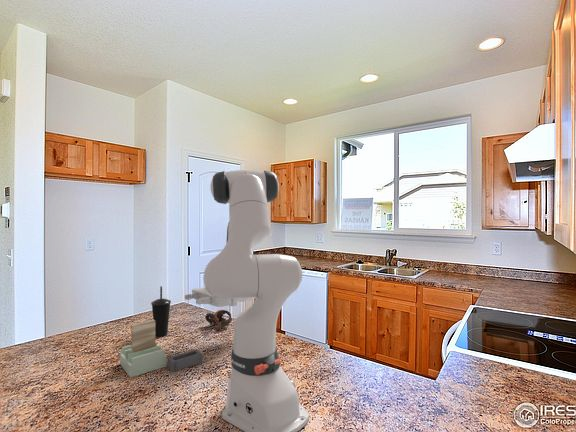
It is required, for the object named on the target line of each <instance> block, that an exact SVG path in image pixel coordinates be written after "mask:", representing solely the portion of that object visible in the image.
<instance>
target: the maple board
mask: <svg viewBox="0 0 576 432" xmlns="http://www.w3.org/2000/svg"><path fill="white" fill-rule="evenodd" d="M130 324H131V325H130V327H131V329H130V332H131V333H130V334H131V337H130V340H131V341H130V342H131V343H130V345H131V353H134V352H138V351H142V350H146V349H149V348H153V347H155V343H156V336H155V320H153V319H149V320H145V321H141V322H135V323H130Z"/></svg>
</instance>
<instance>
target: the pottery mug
mask: <svg viewBox="0 0 576 432" xmlns="http://www.w3.org/2000/svg"><path fill="white" fill-rule="evenodd" d="M225 314H226V315H227V316H228V319H226V318H224V317H223V316H224V315H225ZM204 318H205V320H206V321H207V322H208V323H209V324H210V326H212V325H215V324H216V325H217V326H216V330H218V331H220V330H221V329H224V328H225V327H228V326H229V325H230V324H231V323H232V321H233V318H232V314H231V313H230V311H228V310H226V309H219V310H217V311H215V313H212V312H208V313H206V314H205V316H204Z"/></svg>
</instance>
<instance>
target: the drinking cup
mask: <svg viewBox="0 0 576 432" xmlns="http://www.w3.org/2000/svg"><path fill="white" fill-rule="evenodd" d="M159 290H160V293H159V295H160V296H159V297H160V298H158V299H155V300H153V301H151V302H150V305H151V309H152V320H155V338H157V337H158V338H161V337H166V336H167V335H168V332H169V322H170V321H169V320H170V309H171V303H172V300H170V299H167V298H163V286H162V285H161V286H160V287H159Z"/></svg>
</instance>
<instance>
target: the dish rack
mask: <svg viewBox="0 0 576 432" xmlns="http://www.w3.org/2000/svg"><path fill="white" fill-rule="evenodd" d="M165 353H166V349H165V348H163V349H162V346H161V345H158V342H156V341H155V347H153V348H149V349H146V350H142V351H138V352H134V353H131V344H130V345H129V344H128V345H125V346H122V347H121V353H120V354H119V364H120V366H121V367H122V369H123V370H124V371H125V372H126V374H127V375H128V377H129V378H133V377H137V376H140V375H144V374H145V373H150V372H152V371H156V370H159V369H163V368H165V367H168V355H167V354H165Z"/></svg>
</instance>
